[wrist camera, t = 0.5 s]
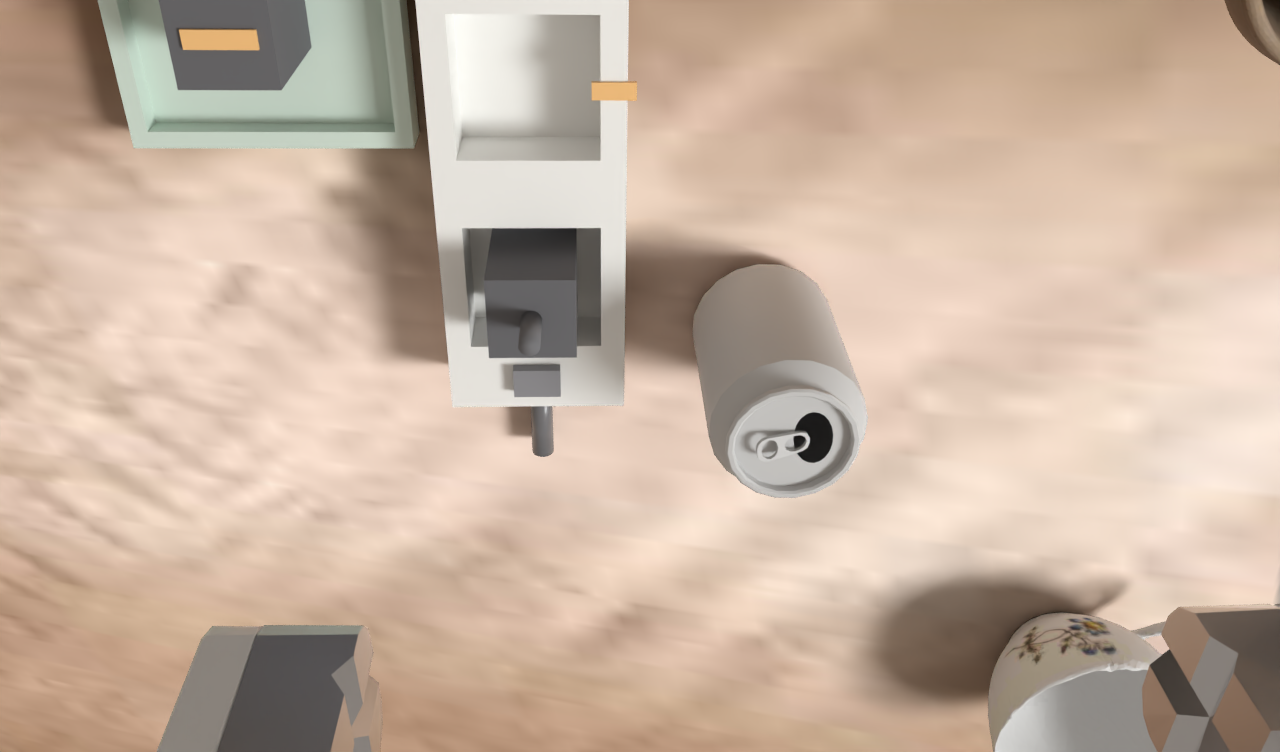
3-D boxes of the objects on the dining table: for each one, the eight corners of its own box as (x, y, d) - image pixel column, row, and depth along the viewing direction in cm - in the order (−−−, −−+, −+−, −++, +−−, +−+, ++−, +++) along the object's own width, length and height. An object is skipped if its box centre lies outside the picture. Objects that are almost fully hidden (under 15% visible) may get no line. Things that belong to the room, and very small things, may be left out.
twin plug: (492, 224, 56) (479, 306, 48) (576, 224, 56) (575, 305, 49) (497, 297, 58) (485, 385, 51) (577, 296, 58) (576, 385, 51)
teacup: (1004, 726, 80) (1042, 824, 73) (927, 629, 74) (961, 725, 68) (1204, 637, 76) (1264, 732, 69) (1139, 526, 70) (1197, 619, 63)
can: (828, 366, 62) (875, 503, 52) (696, 381, 62) (717, 520, 52) (826, 248, 58) (877, 371, 48) (685, 264, 58) (706, 390, 48)
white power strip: (420, -98, 48) (406, -76, 44) (635, -95, 49) (640, -74, 45) (466, 438, 64) (458, 488, 60) (628, 436, 64) (630, 486, 60)
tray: (77, -166, 46) (58, -159, 44) (391, -161, 47) (383, -154, 45) (147, 132, 53) (133, 148, 52) (419, 133, 54) (414, 148, 52)
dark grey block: (200, -50, 48) (153, -15, 43) (297, -49, 48) (263, -14, 43) (218, 46, 50) (176, 91, 45) (311, 47, 51) (280, 91, 45)
